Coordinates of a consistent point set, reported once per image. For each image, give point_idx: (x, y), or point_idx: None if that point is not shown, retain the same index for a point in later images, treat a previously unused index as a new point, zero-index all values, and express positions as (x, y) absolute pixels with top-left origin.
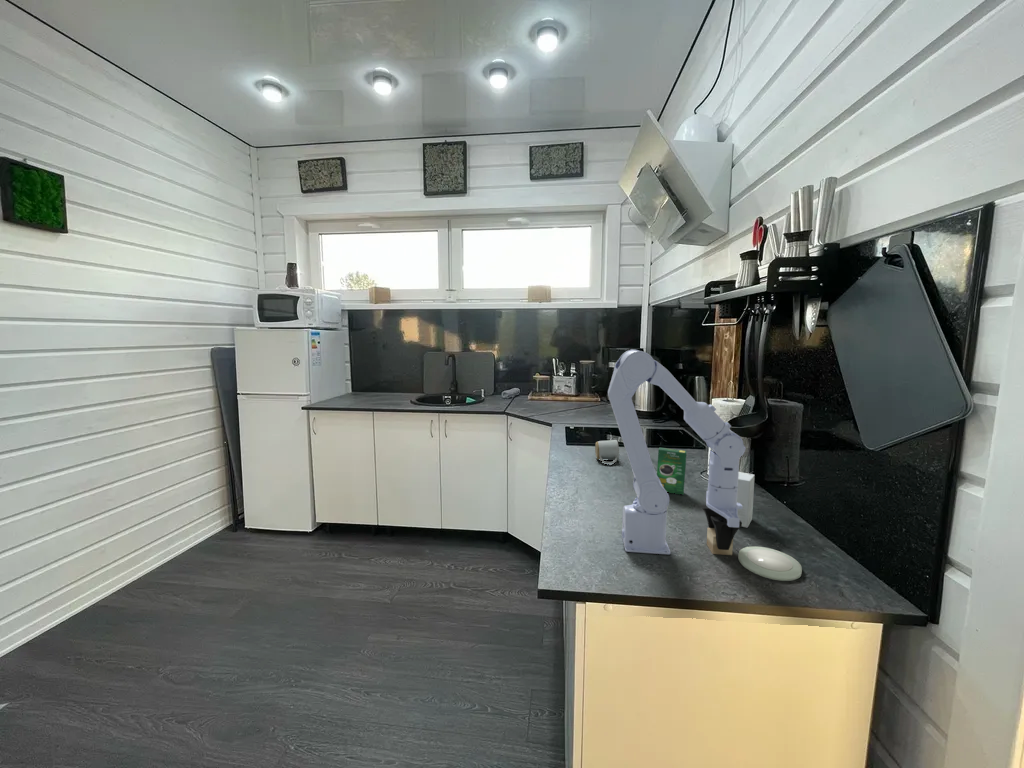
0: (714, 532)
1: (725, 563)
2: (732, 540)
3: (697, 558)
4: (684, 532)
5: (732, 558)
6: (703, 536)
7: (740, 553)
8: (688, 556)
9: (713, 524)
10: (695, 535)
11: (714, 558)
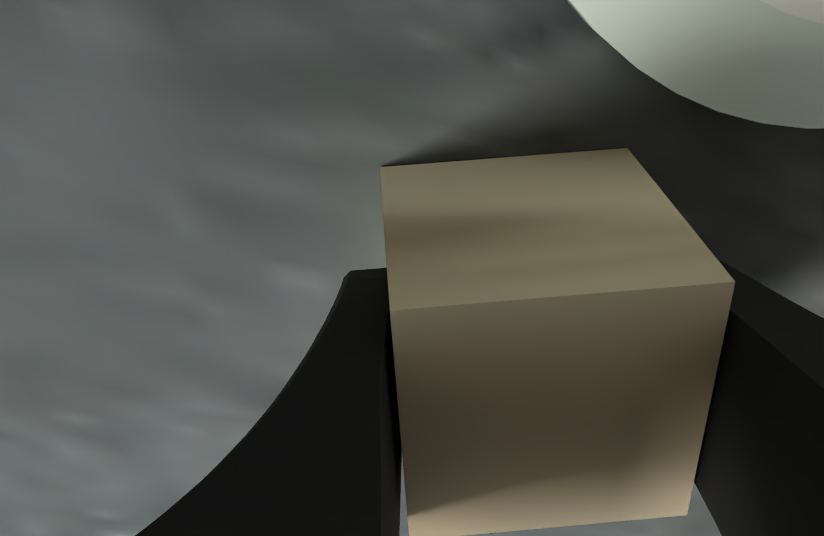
0: (562, 487)
1: (807, 264)
2: (711, 261)
3: None
4: (158, 510)
5: (705, 164)
6: (188, 360)
7: (730, 89)
8: (662, 524)
9: (395, 524)
10: (194, 429)
11: None
